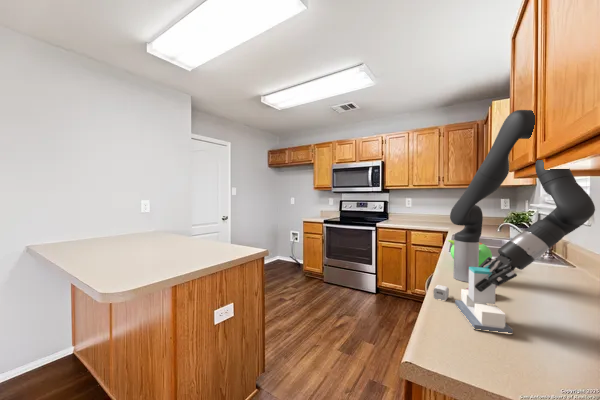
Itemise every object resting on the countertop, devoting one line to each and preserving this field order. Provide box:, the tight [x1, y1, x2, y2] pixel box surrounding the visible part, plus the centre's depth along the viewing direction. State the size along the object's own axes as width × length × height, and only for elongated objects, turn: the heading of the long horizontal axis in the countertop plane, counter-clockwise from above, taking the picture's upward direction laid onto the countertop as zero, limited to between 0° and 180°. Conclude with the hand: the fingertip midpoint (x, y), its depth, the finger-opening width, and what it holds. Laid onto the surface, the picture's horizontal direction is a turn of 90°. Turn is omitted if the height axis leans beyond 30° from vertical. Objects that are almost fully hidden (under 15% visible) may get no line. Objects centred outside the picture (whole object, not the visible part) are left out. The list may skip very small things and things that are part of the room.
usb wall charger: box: [433, 284, 450, 302], centre depth 93 cm, size 4×7×4 cm, turn 139°
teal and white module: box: [468, 267, 497, 305], centre depth 77 cm, size 4×6×10 cm
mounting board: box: [454, 288, 514, 333], centre depth 77 cm, size 17×9×6 cm, turn 164°
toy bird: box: [447, 239, 493, 266], centre depth 131 cm, size 18×17×15 cm
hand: (474, 286), depth 77 cm, fingers closed on teal and white module, 4 cm apart
